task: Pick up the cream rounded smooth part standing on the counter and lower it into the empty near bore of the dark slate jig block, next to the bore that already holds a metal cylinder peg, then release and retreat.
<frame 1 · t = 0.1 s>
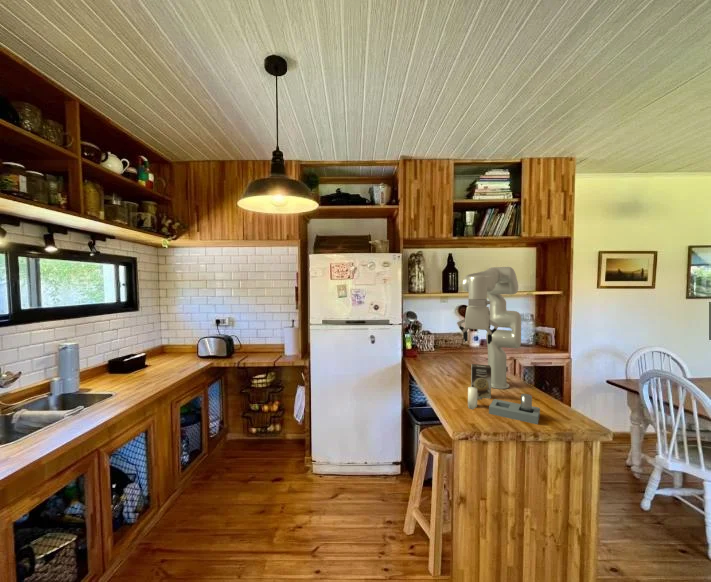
hand: (477, 342, 133), 31 cm above the table, fingers open, 9 cm apart
coffee box: (480, 398, 151), on the table
metal cylinder peg: (526, 416, 126), point 1 cm above the table, touching jig
jig: (514, 416, 129), on the table
cream rounded smooth part: (472, 407, 138), on the table
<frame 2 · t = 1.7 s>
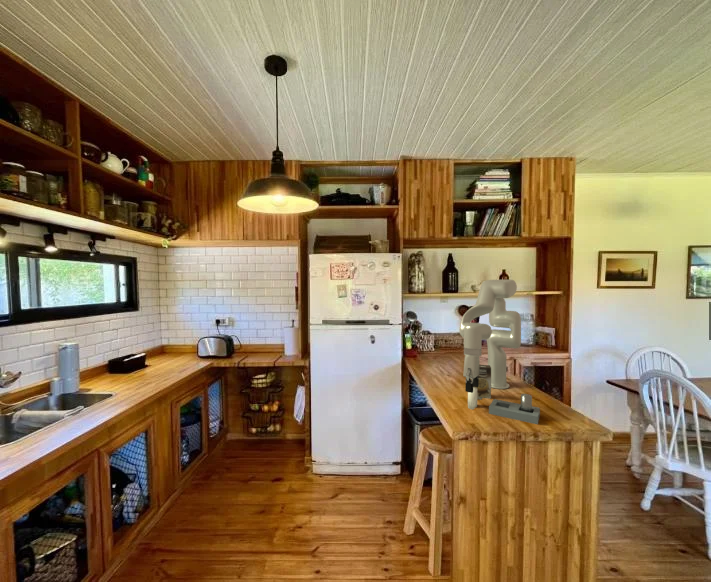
hand: (472, 389, 138), 9 cm above the table, fingers open, 9 cm apart
nothing on the table moved.
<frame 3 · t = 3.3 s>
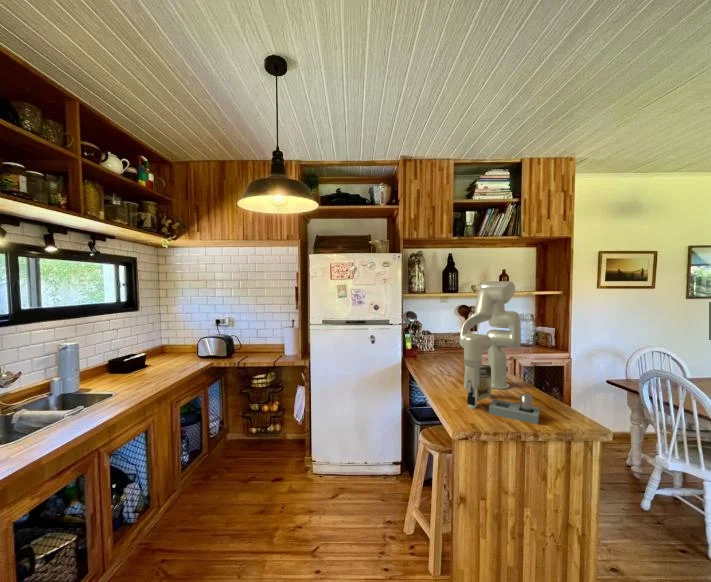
hand: (472, 402, 138), 2 cm above the table, fingers closed on cream rounded smooth part, 4 cm apart
cream rounded smooth part: (472, 407, 138), on the table, touching gripper
everything else where it was.
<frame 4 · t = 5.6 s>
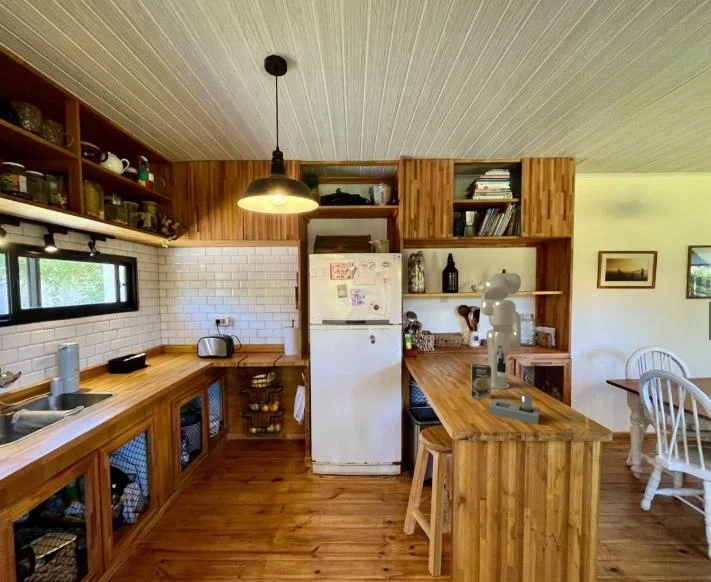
hand: (502, 370, 131), 19 cm above the table, fingers closed on cream rounded smooth part, 4 cm apart
cream rounded smooth part: (502, 375, 131), point 17 cm above the table, touching gripper
everything else where it was.
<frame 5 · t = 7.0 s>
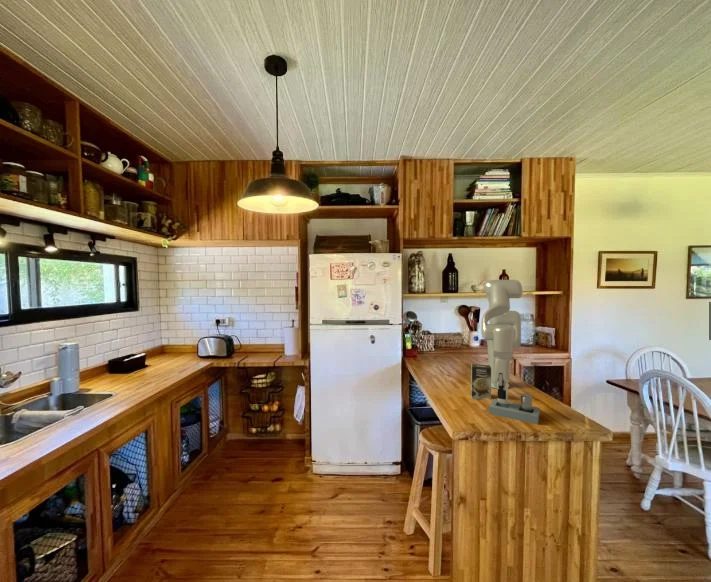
hand: (502, 396, 131), 8 cm above the table, fingers closed on cream rounded smooth part, 4 cm apart
cream rounded smooth part: (502, 402, 131), point 5 cm above the table, touching gripper
everything else where it was.
when the fingers open (5 cm above the table, at t = 8.2 s): cream rounded smooth part drops 1 cm, resting on jig.
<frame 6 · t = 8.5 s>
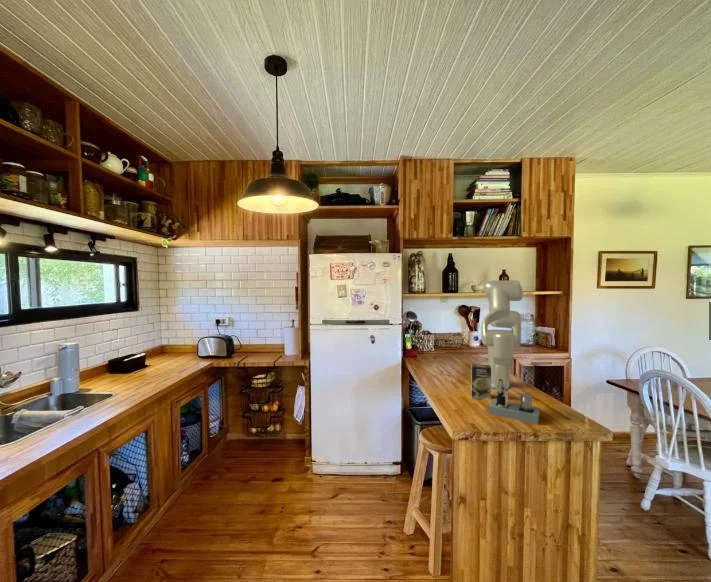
hand: (502, 401, 131), 5 cm above the table, fingers open, 7 cm apart
cream rounded smooth part: (502, 411, 131), point 1 cm above the table, touching jig
everything else where it was.
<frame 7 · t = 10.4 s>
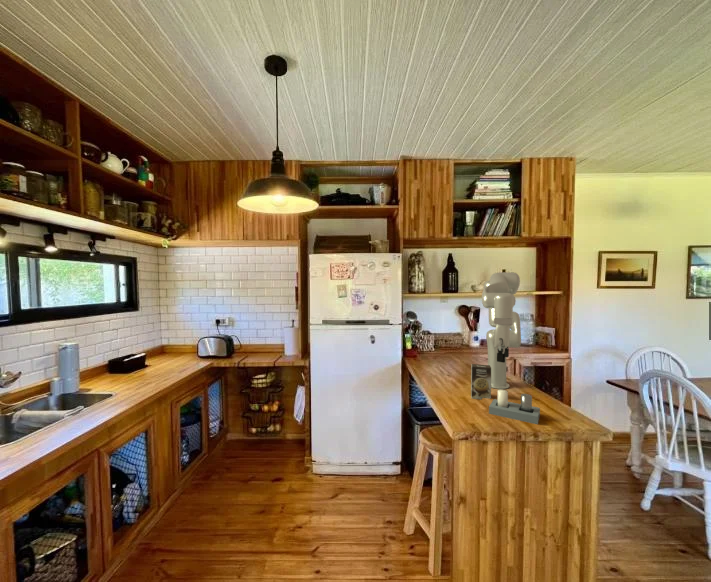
hand: (502, 359, 136), 23 cm above the table, fingers open, 9 cm apart
nothing on the table moved.
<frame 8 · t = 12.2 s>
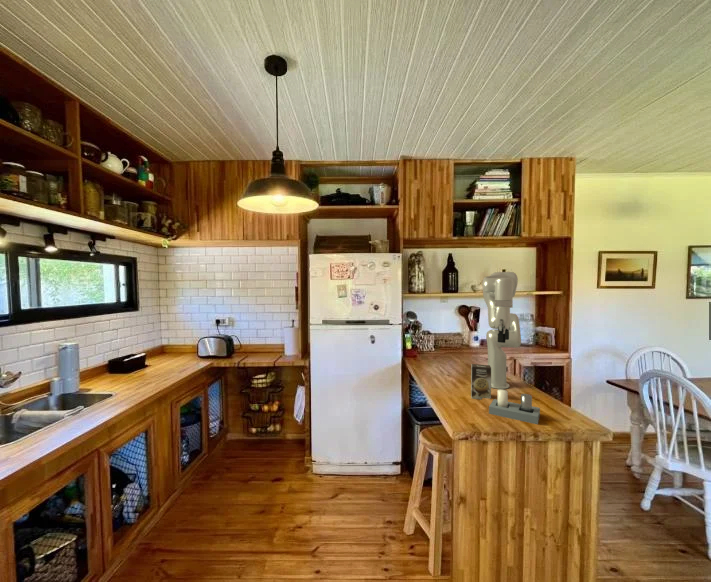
hand: (503, 340, 141), 30 cm above the table, fingers open, 9 cm apart
nothing on the table moved.
at the end: cream rounded smooth part 0.2 cm from the target spot on the jig, point 1.0 cm above the jig's base; cream rounded smooth part tilted 1°; the gripper is holding nothing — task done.
